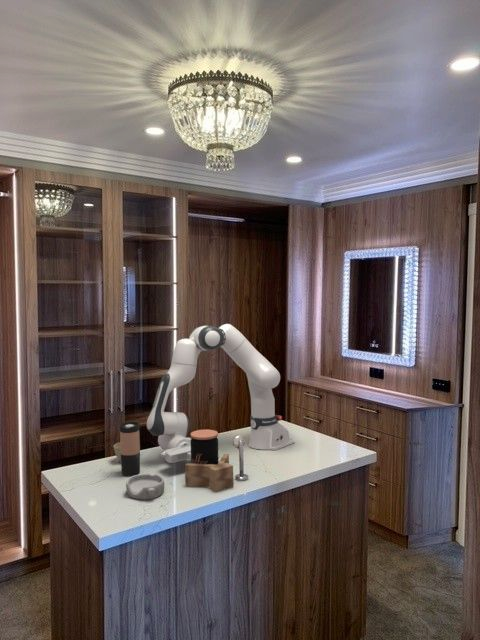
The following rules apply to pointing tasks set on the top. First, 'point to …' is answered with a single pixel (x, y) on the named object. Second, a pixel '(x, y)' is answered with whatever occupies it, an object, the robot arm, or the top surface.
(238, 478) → the metal ball stand
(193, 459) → the coffee jar
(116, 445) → the flower pot
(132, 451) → the travel mug
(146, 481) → the dish
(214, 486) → the wooden l-shaped bracket
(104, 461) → the top surface
